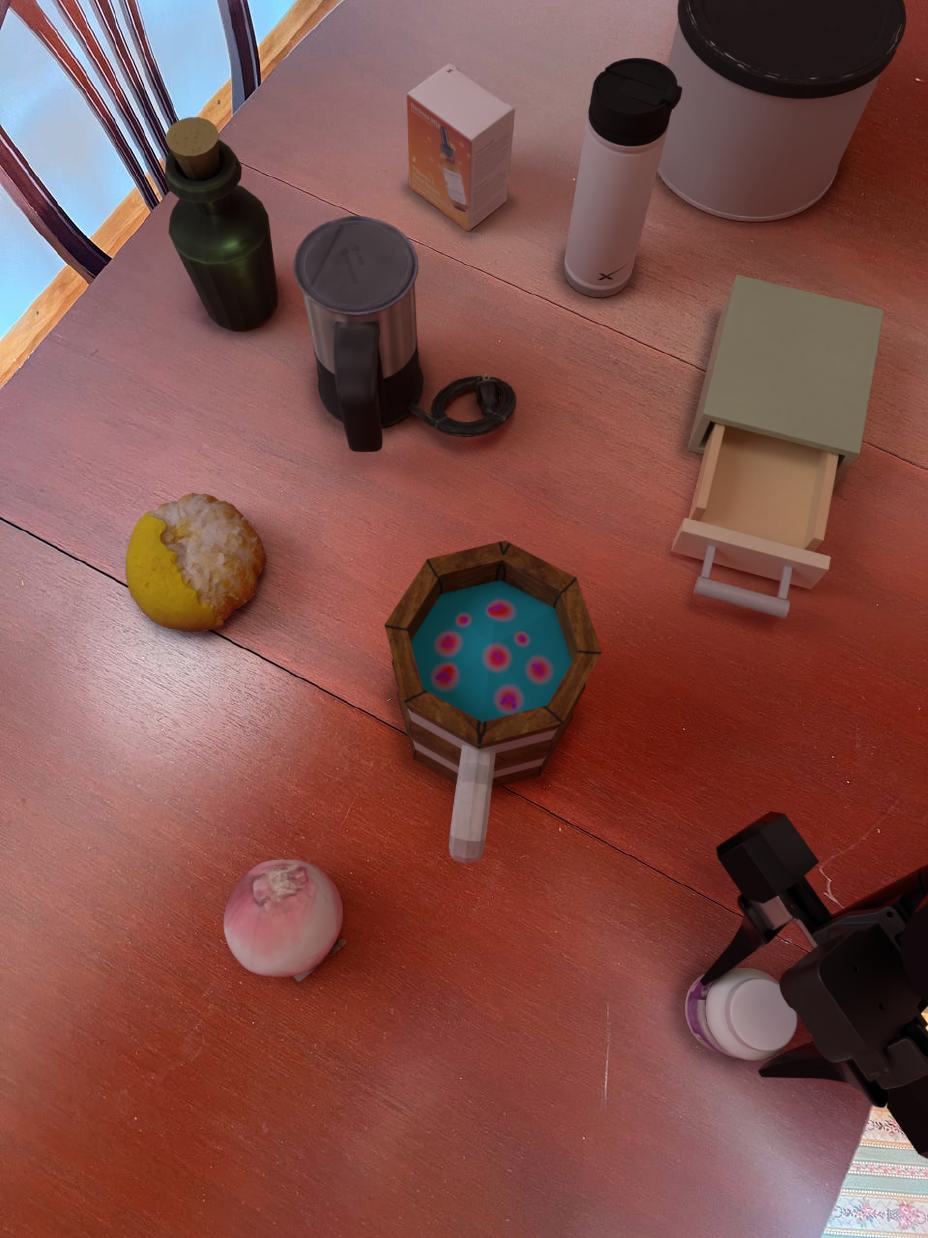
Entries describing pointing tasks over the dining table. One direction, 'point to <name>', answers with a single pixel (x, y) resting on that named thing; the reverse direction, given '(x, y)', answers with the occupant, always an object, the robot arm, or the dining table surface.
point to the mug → (488, 673)
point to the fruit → (193, 563)
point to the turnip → (283, 919)
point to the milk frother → (377, 334)
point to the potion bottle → (219, 227)
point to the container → (771, 98)
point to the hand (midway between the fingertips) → (731, 1025)
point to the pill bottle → (741, 1014)
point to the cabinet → (791, 368)
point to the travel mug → (617, 172)
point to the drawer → (758, 515)
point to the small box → (459, 145)
